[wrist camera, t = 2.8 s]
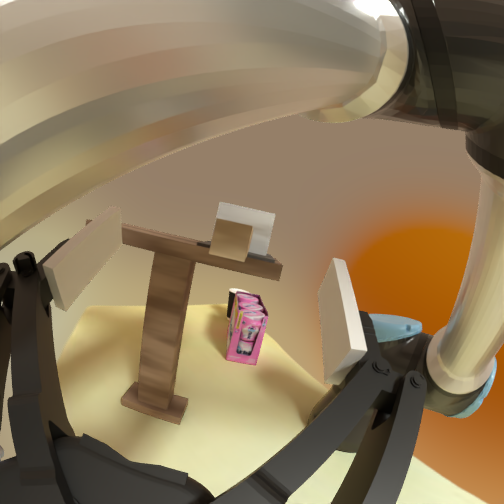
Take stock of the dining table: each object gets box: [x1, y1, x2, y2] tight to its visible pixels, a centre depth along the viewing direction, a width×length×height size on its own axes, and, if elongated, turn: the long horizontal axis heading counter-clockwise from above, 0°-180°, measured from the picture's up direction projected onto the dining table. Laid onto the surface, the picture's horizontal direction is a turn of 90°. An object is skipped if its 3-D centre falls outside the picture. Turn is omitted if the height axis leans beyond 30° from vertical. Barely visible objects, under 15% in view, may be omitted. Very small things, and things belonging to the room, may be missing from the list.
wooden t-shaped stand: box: [86, 220, 283, 425], centre depth 40 cm, size 12×28×28 cm, turn 90°
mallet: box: [209, 202, 275, 262], centre depth 33 cm, size 22×8×6 cm, turn 0°
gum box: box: [226, 291, 268, 365], centre depth 73 cm, size 24×8×14 cm, turn 4°
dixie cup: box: [227, 288, 249, 321], centre depth 96 cm, size 8×8×11 cm
